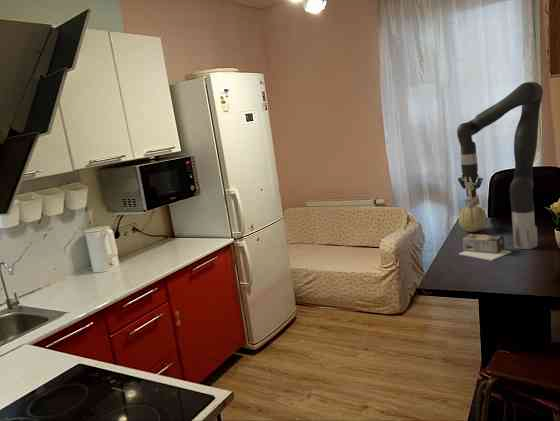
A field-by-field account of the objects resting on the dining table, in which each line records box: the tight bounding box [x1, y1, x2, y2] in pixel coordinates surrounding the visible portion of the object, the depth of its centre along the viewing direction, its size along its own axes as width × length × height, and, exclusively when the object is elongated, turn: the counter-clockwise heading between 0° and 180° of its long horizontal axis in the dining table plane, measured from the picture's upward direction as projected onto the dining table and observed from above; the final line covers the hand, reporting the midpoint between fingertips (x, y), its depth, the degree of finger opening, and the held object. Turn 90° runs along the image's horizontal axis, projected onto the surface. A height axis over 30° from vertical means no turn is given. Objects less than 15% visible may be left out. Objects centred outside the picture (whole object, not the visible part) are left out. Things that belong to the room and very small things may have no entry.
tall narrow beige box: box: [464, 182, 481, 209], centre depth 229 cm, size 2×8×13 cm, turn 122°
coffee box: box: [462, 233, 505, 253], centre depth 217 cm, size 9×6×16 cm
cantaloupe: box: [458, 205, 488, 233], centre depth 250 cm, size 15×15×15 cm
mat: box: [458, 249, 512, 261], centre depth 213 cm, size 17×15×1 cm
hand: (471, 196), depth 229 cm, fingers closed on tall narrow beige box, 2 cm apart
